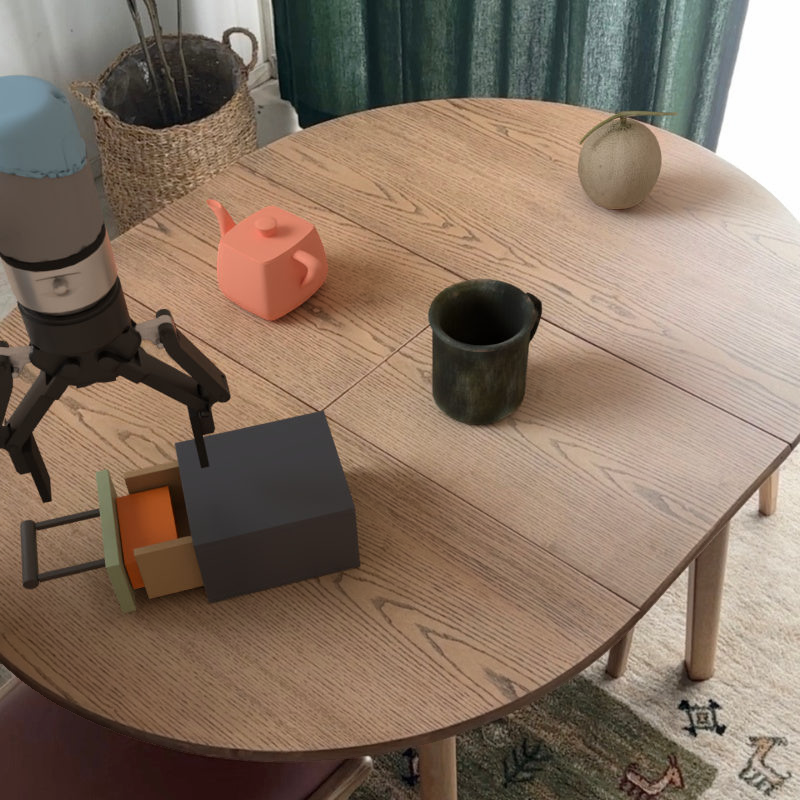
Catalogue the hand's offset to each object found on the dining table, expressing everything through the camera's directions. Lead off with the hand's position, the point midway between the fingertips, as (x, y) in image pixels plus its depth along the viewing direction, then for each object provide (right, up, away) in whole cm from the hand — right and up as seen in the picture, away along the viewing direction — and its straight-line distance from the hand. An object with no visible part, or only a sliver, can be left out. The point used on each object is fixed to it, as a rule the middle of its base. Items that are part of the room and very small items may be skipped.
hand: (126, 473), depth 93 cm
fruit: (+52, +33, +49) cm, 79 cm away
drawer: (0, -9, +9) cm, 12 cm away
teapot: (+8, +20, +38) cm, 44 cm away
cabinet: (+12, -7, +12) cm, 18 cm away
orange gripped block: (+1, -8, +8) cm, 11 cm away
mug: (+34, +8, +25) cm, 43 cm away
